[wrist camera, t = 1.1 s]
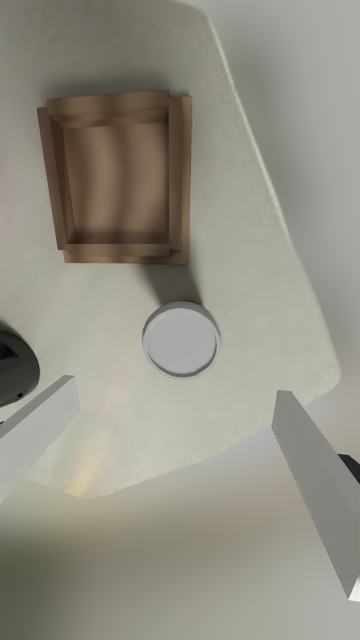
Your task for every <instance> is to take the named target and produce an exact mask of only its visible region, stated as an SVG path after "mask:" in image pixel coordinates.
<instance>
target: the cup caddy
mask: <svg viewBox="0 0 360 640" xmlns="http://www.w3.org/2000/svg"><path fill="white" fill-rule="evenodd" d="M47 104H48V107H41V108H37V114H38V121H39V127H40V134H41V141H42V147H43V154H44V161H45V167H46V174H47V181H48V187H49V194H50V200H51V207H52V214H53V220H54V227H55V234H56V240H57V247H58V250H63V253H64V260H65V263H153V264H189V221H190V174H191V126H192V96H187V97H173V98H170V95H169V90H159V91H147V92H134V93H121V94H108V95H95V96H82V97H69V98H57V99H47Z"/></svg>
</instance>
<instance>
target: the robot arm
mask: <svg viewBox="0 0 360 640" xmlns="http://www.w3.org/2000/svg"><path fill="white" fill-rule="evenodd" d="M39 376H40V372H39V365H38V362H37V360H36V357H35V356H34V354H33V352H32V351H31V349H30V348H29V347H28V346H27V345H26V344H25V343H24V342H23V341H22V340H21V339H19V338H18V337H16V336H15V335H13V334H11V333H8V332H6V331H2V330H0V408H1V407H3V406H6V405H9V404H11V403H14V402H17V401H19V400H21V399H22V398H24V397H25V396H26V395H28V394H29V393H30V392H32V391H33V390H34V389H35V387H36V386H37V384H38V381H39ZM79 411H80V407H79V401H78V394H77V388H76V381H75V376H69V375H64V376H62V377H61V378H60V379H59V380H57V381H56V382H55V383H53V384H52V385H51V386H50V387H48V388H47V389H46V390H44V391H43V392H42V393H41V394H39V395H38V396H37V397H35V398H34V399H33V400H32V401H30V402H29V403H28V404H26V405H25V406H24V407H23V408H21V409H20V410H19V411H17V412H16V413H15V414H14V415H12V416H11V417H10V418H8V419H7V420H6V421H5V422H4V421H2V422H1V423H0V503H1V502H2V501H3V500H4V499H5V497H6V496H7V495H8V494H9V493H10V491H11V490H12V489H13V488H14V487H15V486H16V484H17V483H18V482H19V481H20V480H21V479H22V477H23V476H24V475H25V474H26V473H27V472H28V470H29V469H30V468H31V467H32V466H33V465H34V463H35V462H36V461H37V460H38V459H39V458H40V456H41V455H42V454H43V453H44V452H45V450H46V449H47V448H48V447H49V446H50V445H51V443H52V442H53V441H54V440H55V439H56V438H57V436H58V435H59V434H60V433H61V432H62V431H63V429H64V428H65V427H66V426H67V425H68V424H69V422H70V421H71V420H72V419H73V418H74V417H75V415H76V414H77V413H78V412H79ZM272 429H273V432H274V434H275V436H276V439H277V441H278V443H279V445H280V448H281V450H282V452H283V454H284V457H285V459H286V461H287V463H288V465H289V467H290V470H291V472H292V474H293V477H294V479H295V481H296V483H297V486H298V488H299V490H300V492H301V495H302V497H303V499H304V501H305V504H306V506H307V508H308V510H309V513H310V515H311V517H312V519H313V521H314V524H315V526H316V528H317V531H318V533H319V535H320V537H321V540H322V542H323V544H324V546H325V548H326V551H327V553H328V555H329V557H330V560H331V562H332V564H333V566H334V568H335V571H336V573H337V575H338V578H339V580H340V582H341V584H342V587H343V589H344V591H345V593H346V596H347V598H348V600H353V601H359V602H360V464H359V463H357V462H356V461H355V460H354V459H353V458H351V457H350V456H349V455H342V454H337V453H336V452H335V450H334V449H333V448H332V446H331V445H330V444H329V442H328V441H327V440H326V438H325V437H324V435H323V434H322V433H321V431H320V430H319V429H318V427H317V426H316V425H315V423H314V422H313V420H312V419H311V418H310V416H309V415H308V414H307V412H306V411H305V410H304V408H303V407H302V406H301V404H300V403H299V401H298V400H297V399H296V397H295V396H294V395H293V393H292V392H291V391H282V390H278V391H277V397H276V403H275V409H274V415H273V421H272Z"/></svg>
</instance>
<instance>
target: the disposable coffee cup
mask: <svg viewBox="0 0 360 640" xmlns="http://www.w3.org/2000/svg"><path fill="white" fill-rule="evenodd" d="M223 341H224V340H223V333H222V330H221V327H220V325H219V323H218V321H217V320H216V318H215V317H214V316H213V315H212V314H211V313H210V312H209V311H208V310H206V309H205V308H203V307H202V306H200V305H199V304H198V303H196V302H194V301H181V302H172V303H168V304H166V305H163V306H162V307H160V308H158V309H157V310H156V311H155V312H154V313H153V314H151V315H150V317H149V318H148V320H147V321H146V323H145V326H144V328H143V333H142V344H143V349H144V353H145V355H146V358H147V360H148V362H149V363H150V364H151V366H152V367H153V368H154V369H155V370H156V371H158V372H159V373H160V374H162V375H164V376H166V377H168V378H171V379H174V380H192V379H195V378H198V377H201V376H202V375H204V374H206V373H207V372H208V371H209V370H210V369H211V368H212V367H213V366H214V365H215V364H216V362H217V361H218V359H219V358H220V356H221V353H222V350H223Z"/></svg>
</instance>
